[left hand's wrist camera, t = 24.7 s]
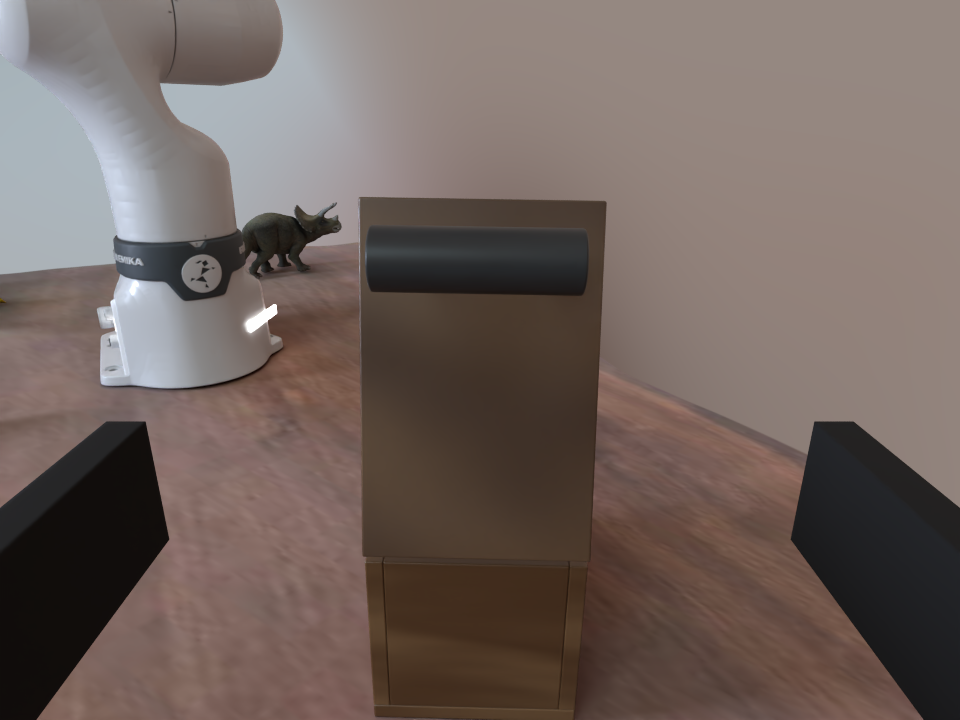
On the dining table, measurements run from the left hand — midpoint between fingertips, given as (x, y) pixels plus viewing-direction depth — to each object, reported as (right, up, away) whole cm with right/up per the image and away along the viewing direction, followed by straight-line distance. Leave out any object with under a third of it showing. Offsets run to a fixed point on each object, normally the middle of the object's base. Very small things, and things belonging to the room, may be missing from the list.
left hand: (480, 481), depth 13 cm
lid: (0, +2, +13) cm, 13 cm away
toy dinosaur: (-34, +17, +96) cm, 103 cm away
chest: (0, -12, +23) cm, 26 cm away
